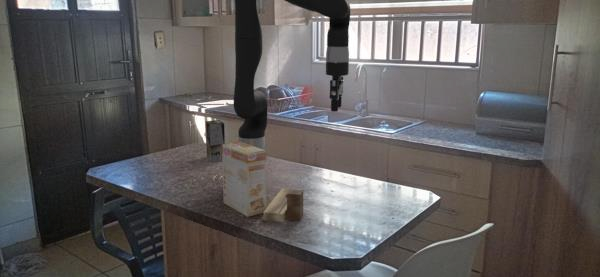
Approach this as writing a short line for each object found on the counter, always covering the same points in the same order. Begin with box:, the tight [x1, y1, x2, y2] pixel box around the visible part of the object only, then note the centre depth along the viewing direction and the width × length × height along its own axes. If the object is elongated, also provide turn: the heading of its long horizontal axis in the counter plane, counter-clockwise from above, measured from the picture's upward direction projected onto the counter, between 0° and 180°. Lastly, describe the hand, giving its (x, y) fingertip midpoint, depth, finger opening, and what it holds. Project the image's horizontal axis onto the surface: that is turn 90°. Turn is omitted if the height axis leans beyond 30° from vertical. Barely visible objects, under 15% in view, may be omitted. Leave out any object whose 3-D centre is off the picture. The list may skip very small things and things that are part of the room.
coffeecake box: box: [221, 141, 267, 218], centre depth 148 cm, size 15×7×20 cm, turn 37°
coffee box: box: [205, 119, 226, 163], centre depth 203 cm, size 9×6×16 cm
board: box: [262, 187, 300, 223], centre depth 150 cm, size 6×22×3 cm, turn 168°
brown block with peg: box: [285, 188, 304, 222], centre depth 141 cm, size 5×4×8 cm
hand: (336, 109), depth 162 cm, fingers open, 8 cm apart
